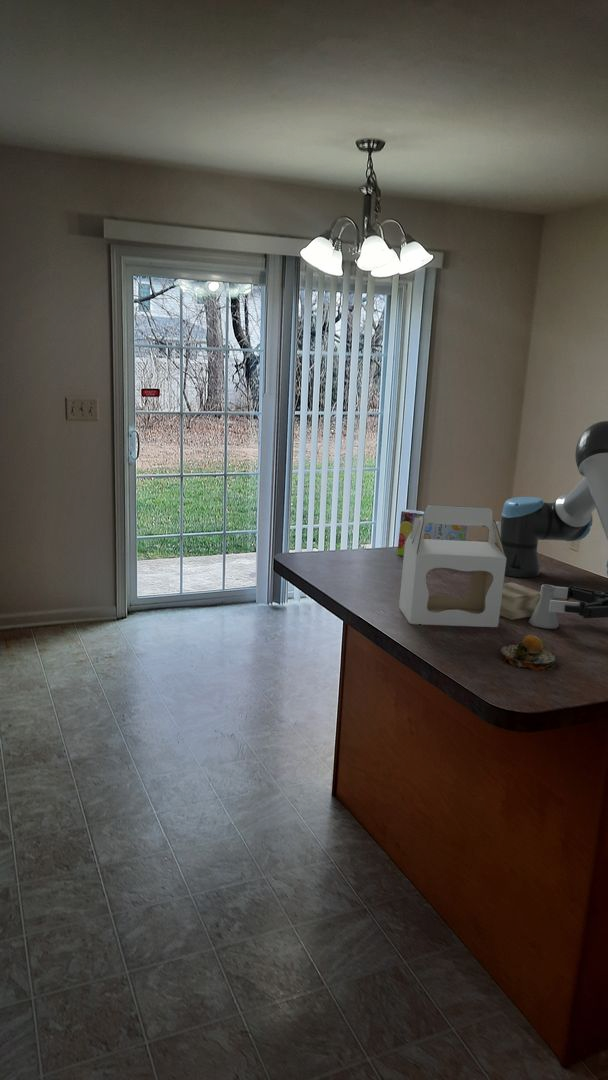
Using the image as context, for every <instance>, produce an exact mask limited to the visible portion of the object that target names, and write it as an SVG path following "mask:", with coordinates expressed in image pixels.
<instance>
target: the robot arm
mask: <svg viewBox="0 0 608 1080" xmlns="http://www.w3.org/2000/svg"><path fill="white" fill-rule="evenodd" d="M576 443H577V444H576V446H575V452H574V454H575V463H576V466H577V470H578V473H579V474H580V475H581V476H582V479H580V481H578V483H577V484H576V485H575V487H574V488H572V490H571V491H570V492H568V493H564V494H562V495H560V496H558V498H557V499H556V500H555V501H554V502H544V499H542V498H541V497H536V496H517V497H511V498H509V499H507V500H505V502H504V504H503V508H502V511H501V537H500V538H501V541H502V544H503V548H504V551H505V554H506V557H507V559H506V567H505V575H504V576H508V577H515V578H535V576H536V577H539V576H540V575H541V574H540V573H541V566H540V563H539V556H538V546H539V545H538V543H539V541H540V540H542V541H565V542H574V541H576V542H577V541H580V540H583V539H585V538H586V537H587V536H588V535H589V533H590V531H591V527H592V526H593V512H594V511H595V509H596V511H597V514H598V517H599V519H600V523H601V526H602V529H603V532H604V534H605V537H606V540H607V541H608V420H602V421H598V422H596V423H593V424H591V425H590V426H589V427H588V428H586V429H584V431H583V432H582V434H581V435H580V436H579V438H578V440H577V442H576ZM606 569H607V570H606V574H607V576H608V560H607V562H606ZM538 575H539V576H538ZM542 585H543V584H542ZM542 585H541V586H540V591H539V592H540V596H541V595H542V590H543V588H542ZM554 586H555V589H554V592H553V598H556V599H557V598H558V599H565V600H555V599H553V600H550V606H549V612H556V613H557V614H558V613H559V614H568V615H569V614H571V615H579V616H580V617H582V618H584V619H599V618H608V591H600V590H595V589H591V588H584V587H579V586H575V585H568V587H566V586H556V585H554ZM571 599H572V600H576V602H575V601H569V600H571ZM578 601H579V602H578Z"/></svg>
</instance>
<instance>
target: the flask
mask: <svg viewBox="0 0 608 1080" xmlns="http://www.w3.org/2000/svg"><path fill="white" fill-rule="evenodd" d="M555 586H556V585H552V584H546V583H545V584H542V588H543V590H542V595H541V598H540V601H539V603H538V605H537V607H536V609H535V611H534V612H533V614H532V616H531V617H529V618H530V619H529V620H528V624H530V625H531V626H533V627H537V628H542V629H552V630H553V629H554V630H555V629H557V628H559V621H558V617H557V614H556V613H557V612H549V606H550V600H554V597H553V592H554V589H555Z"/></svg>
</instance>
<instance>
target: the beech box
mask: <svg viewBox="0 0 608 1080" xmlns="http://www.w3.org/2000/svg"><path fill="white" fill-rule="evenodd" d="M540 598H541V596H540V591H538V590H535V589H534V588H533V589H532V588H530V587H526V586H524V585H521V584H518V583H515V582H504V583H503V591H502V599H501V607H500V615H499V616H500V617H504V618H506V619H508V620H517V619H523V618H531V616H532V614H533V612H534V611H535V609H536V607H537V605H538V603H539V601H540Z"/></svg>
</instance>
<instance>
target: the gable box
mask: <svg viewBox="0 0 608 1080" xmlns="http://www.w3.org/2000/svg"><path fill="white" fill-rule="evenodd" d="M423 510H424V511H423V512H424V515H423V516H421V517H420V518H418V517H414V521H413V527H412V531H411V533H410V534H409V536H408V538H407V540H406V541H405V549H404V556H403V562H402V571H401V582H400V594H399V602H398V608H399V609H400V611H401V613H402V614H403V615H404V617H405V619H406V620H407V622H408V623H409V624H410V625H419V624H421V626H422V625H423V626H425V625H426V626H450V627H452V626H453V627H480V628H498V627H499V622H500V616H501V615H500V607H501V599H502V591H503V584H504V583H505V576H506V575H505V567H506V559H507V557H506V554H505V551H504V548H503V544H502V541H501V538H500V537H501V521H502V520H501V521H500V520H499V521H498V520H497V521H495V520H494V518H493V510H492V509H491V508H490V507H479V506H478V507H477V506H463V505H462V506H459V505H439V504H428V505H426V506H425V508H424V509H423ZM427 524H431V525H432V524H448V525H467V527H468V526H470V527H471V526H472V527H473V526H474V527H482V528H485V527H486V528H487V530H488V534H487V540H486V541H476V540H475V541H472V540H466V541H455V540H434V539H424V529H425V526H426V525H427ZM439 568H440V569H442V568H443V569H445V568H446V569H452V570H455V571H460V572H461V571H462V572H474V573H473V575H472V577H471V579H470V581H469V594H468V596H466V597H463V598H462V597H457V596H454V595H451V594H448V593H447V594H446V593H436V594H431V595H430V594H429V589H428V586H427V581H426V577H427V574H428V573H429V572H430V571H431V570H433V569H439Z"/></svg>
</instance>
